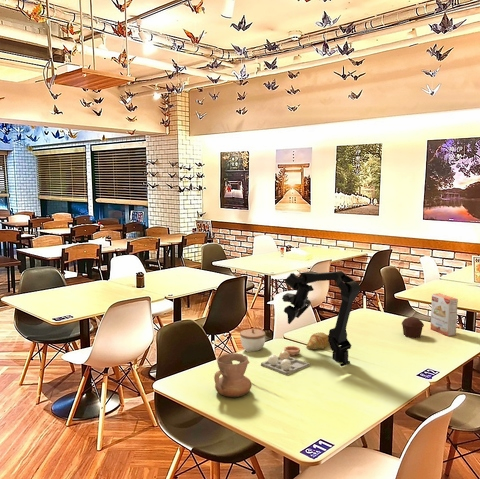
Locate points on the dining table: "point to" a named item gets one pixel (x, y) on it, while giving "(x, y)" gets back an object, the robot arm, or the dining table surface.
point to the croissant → (318, 341)
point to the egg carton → (295, 367)
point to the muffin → (412, 327)
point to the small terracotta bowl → (292, 350)
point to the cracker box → (444, 314)
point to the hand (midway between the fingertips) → (293, 320)
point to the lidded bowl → (252, 339)
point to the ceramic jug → (232, 375)
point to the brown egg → (284, 355)
